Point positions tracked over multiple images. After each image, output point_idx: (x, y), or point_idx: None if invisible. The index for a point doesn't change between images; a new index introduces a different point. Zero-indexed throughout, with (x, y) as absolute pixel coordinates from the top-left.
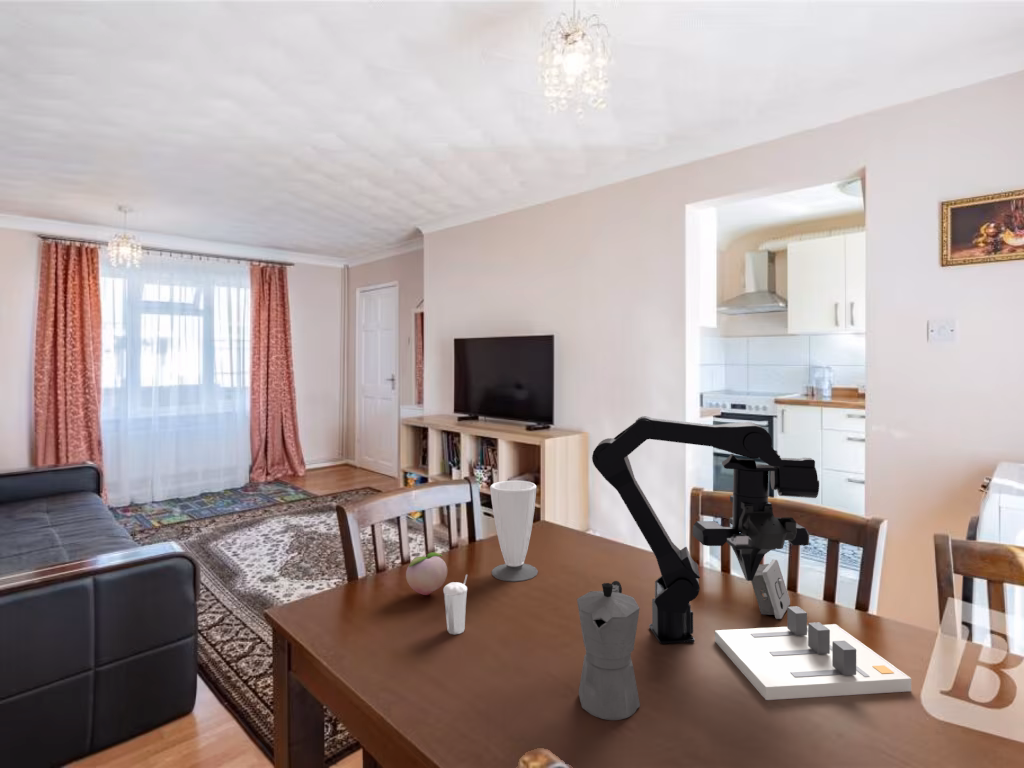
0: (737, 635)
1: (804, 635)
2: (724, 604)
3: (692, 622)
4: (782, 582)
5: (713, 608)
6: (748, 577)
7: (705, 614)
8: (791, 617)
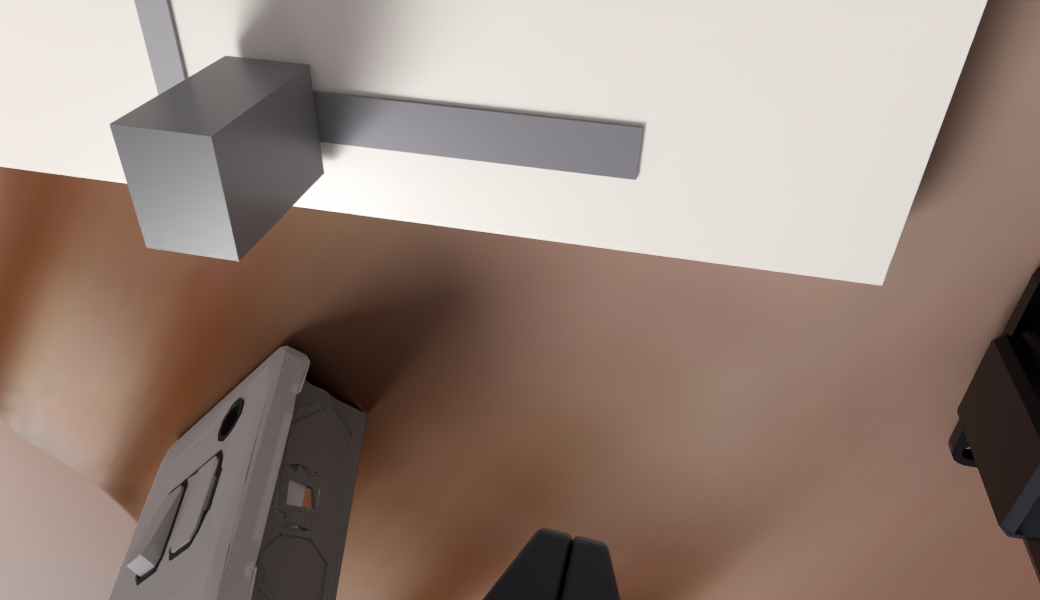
0: (755, 182)
1: None
2: (512, 535)
3: (1035, 389)
4: (137, 548)
5: (598, 524)
6: (596, 583)
7: (687, 494)
8: (262, 172)
